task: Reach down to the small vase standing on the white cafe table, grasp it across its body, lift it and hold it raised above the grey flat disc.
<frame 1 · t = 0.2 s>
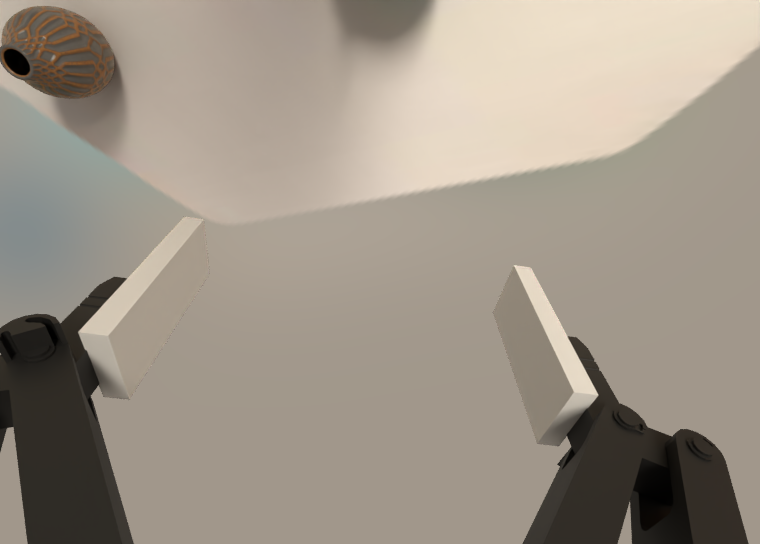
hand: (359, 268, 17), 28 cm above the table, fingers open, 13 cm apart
vase: (89, 49, 37), on the table
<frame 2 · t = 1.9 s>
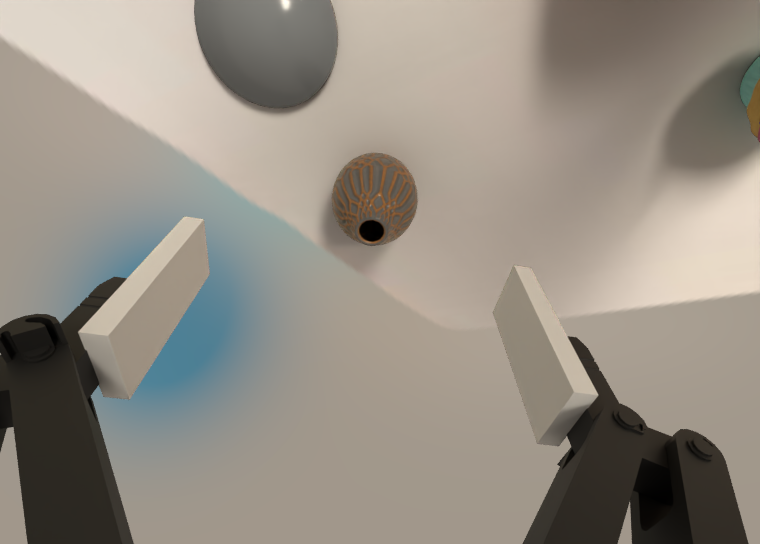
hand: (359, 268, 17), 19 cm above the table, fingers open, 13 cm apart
grey flat disc: (268, 32, 28), on the table
vase: (376, 180, 35), on the table
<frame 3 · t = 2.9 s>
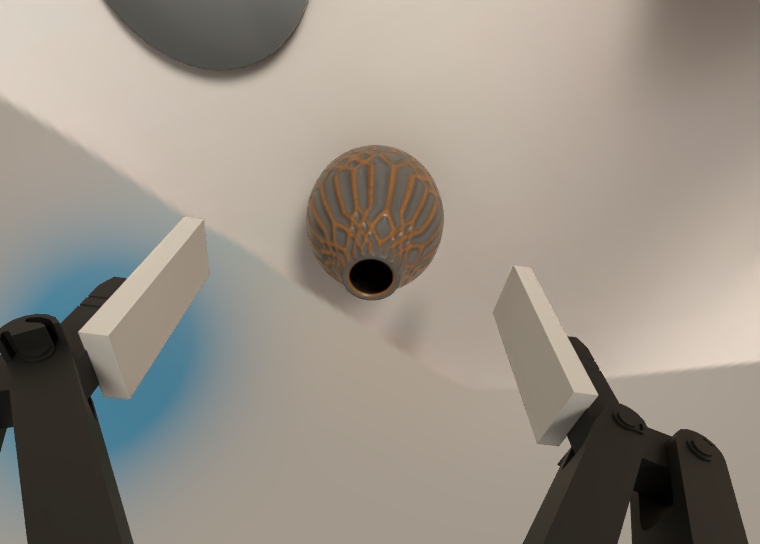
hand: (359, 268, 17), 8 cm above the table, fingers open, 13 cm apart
vase: (377, 188, 23), on the table
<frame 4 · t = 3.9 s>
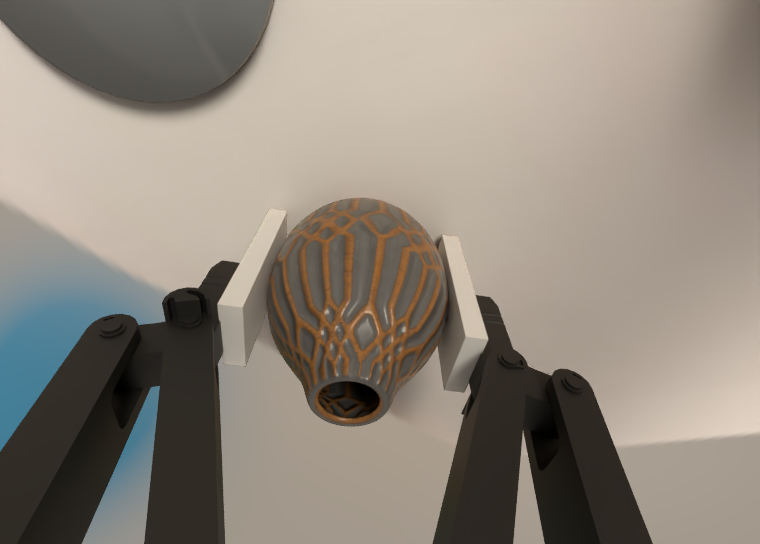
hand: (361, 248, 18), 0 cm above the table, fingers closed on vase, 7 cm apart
vase: (363, 242, 19), on the table, touching gripper
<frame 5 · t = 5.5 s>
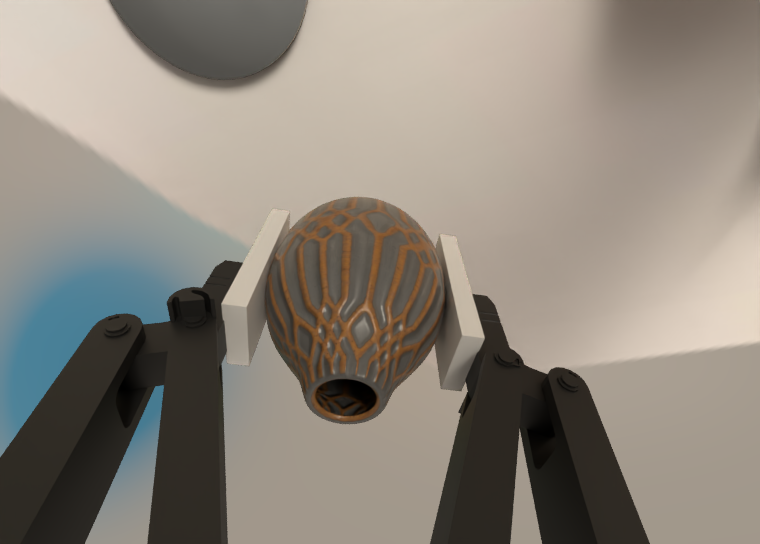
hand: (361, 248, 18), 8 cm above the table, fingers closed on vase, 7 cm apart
vase: (361, 241, 19), point 7 cm above the table, touching gripper
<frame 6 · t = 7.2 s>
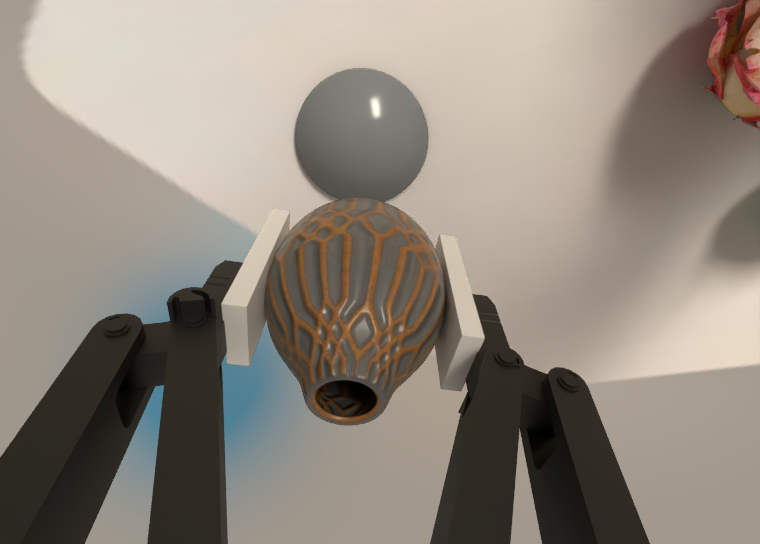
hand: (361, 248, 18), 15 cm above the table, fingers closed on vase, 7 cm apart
grey flat disc: (362, 140, 30), on the table
vase: (362, 242, 19), point 14 cm above the table, touching gripper
flower: (739, 42, 26), on the table
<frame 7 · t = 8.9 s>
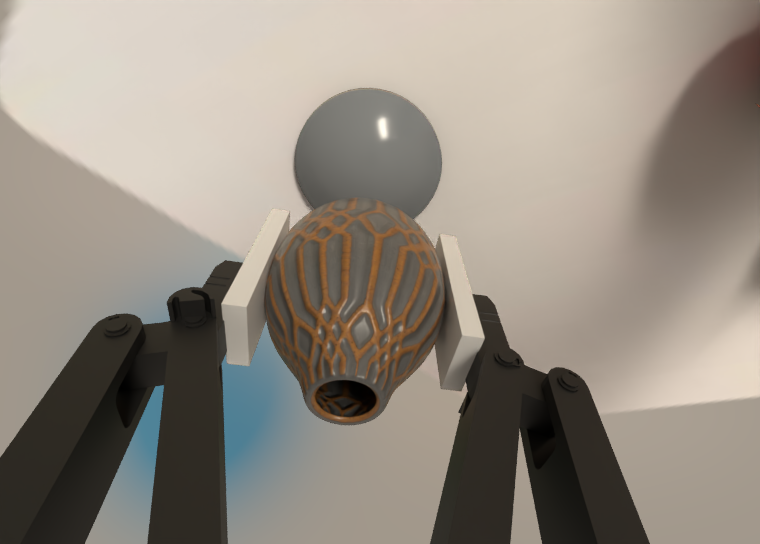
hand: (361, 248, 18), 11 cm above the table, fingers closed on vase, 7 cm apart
grey flat disc: (368, 166, 27), on the table
vase: (361, 242, 19), point 10 cm above the table, touching gripper
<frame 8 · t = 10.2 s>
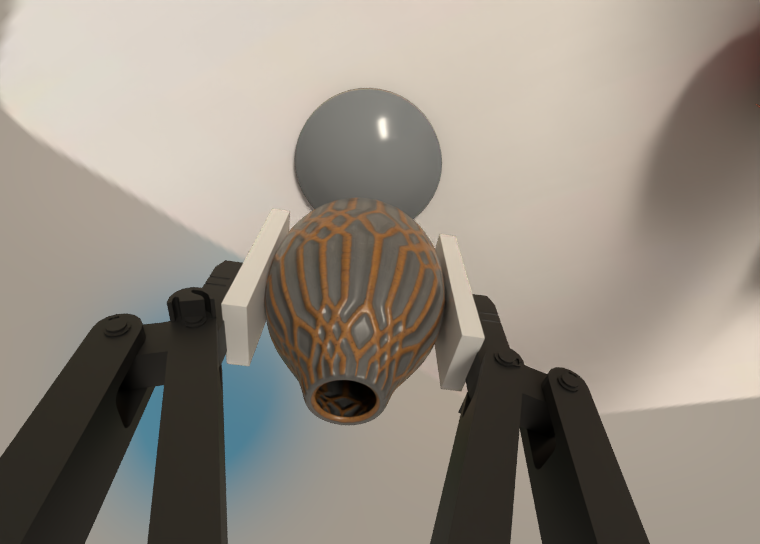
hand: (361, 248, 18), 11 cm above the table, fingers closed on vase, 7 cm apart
grey flat disc: (368, 166, 27), on the table
vase: (361, 242, 19), point 10 cm above the table, touching gripper
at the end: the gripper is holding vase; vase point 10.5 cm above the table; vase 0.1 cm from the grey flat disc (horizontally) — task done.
